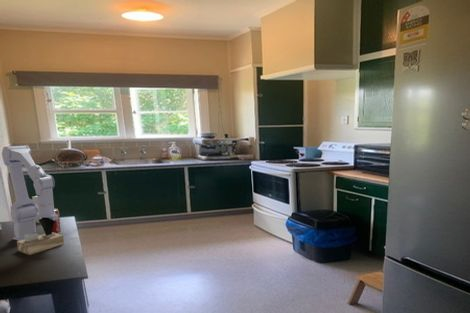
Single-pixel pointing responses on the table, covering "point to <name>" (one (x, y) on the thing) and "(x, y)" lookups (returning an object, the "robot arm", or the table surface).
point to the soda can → (56, 223)
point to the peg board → (40, 244)
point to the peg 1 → (31, 237)
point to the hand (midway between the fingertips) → (48, 234)
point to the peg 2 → (48, 235)
